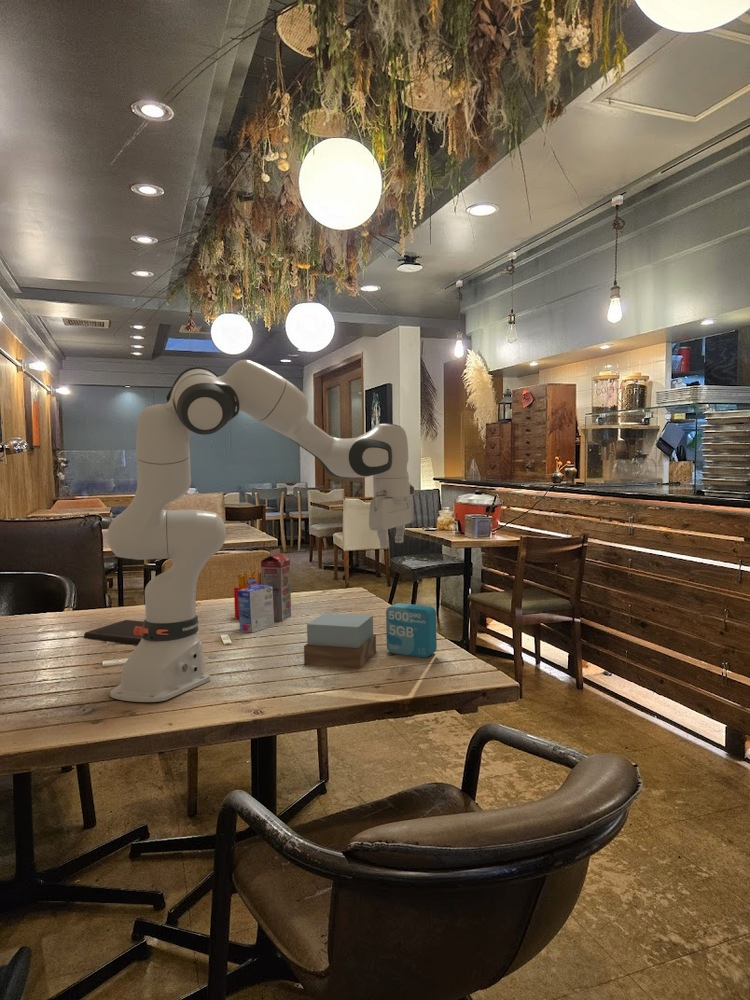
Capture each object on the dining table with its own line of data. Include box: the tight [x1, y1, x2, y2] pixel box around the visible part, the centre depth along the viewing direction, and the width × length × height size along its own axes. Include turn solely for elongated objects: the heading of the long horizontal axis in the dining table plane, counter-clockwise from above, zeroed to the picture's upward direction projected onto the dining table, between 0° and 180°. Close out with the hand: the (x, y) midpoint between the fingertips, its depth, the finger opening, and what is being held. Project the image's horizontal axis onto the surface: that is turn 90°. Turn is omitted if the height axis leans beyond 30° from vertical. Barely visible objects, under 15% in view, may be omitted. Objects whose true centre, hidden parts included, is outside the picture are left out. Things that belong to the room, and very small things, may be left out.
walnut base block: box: [303, 633, 377, 669], centre depth 161 cm, size 14×14×5 cm
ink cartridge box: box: [238, 578, 275, 634], centre depth 191 cm, size 10×6×14 cm, turn 147°
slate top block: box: [306, 612, 374, 648], centre depth 161 cm, size 12×13×5 cm
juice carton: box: [260, 547, 292, 622], centre depth 202 cm, size 7×7×22 cm
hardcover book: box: [83, 619, 144, 646], centre depth 186 cm, size 16×23×2 cm
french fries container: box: [233, 571, 262, 620], centre depth 205 cm, size 7×9×14 cm
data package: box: [385, 602, 438, 659], centre depth 163 cm, size 12×4×12 cm, turn 61°
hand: (392, 545), depth 162 cm, fingers open, 8 cm apart
